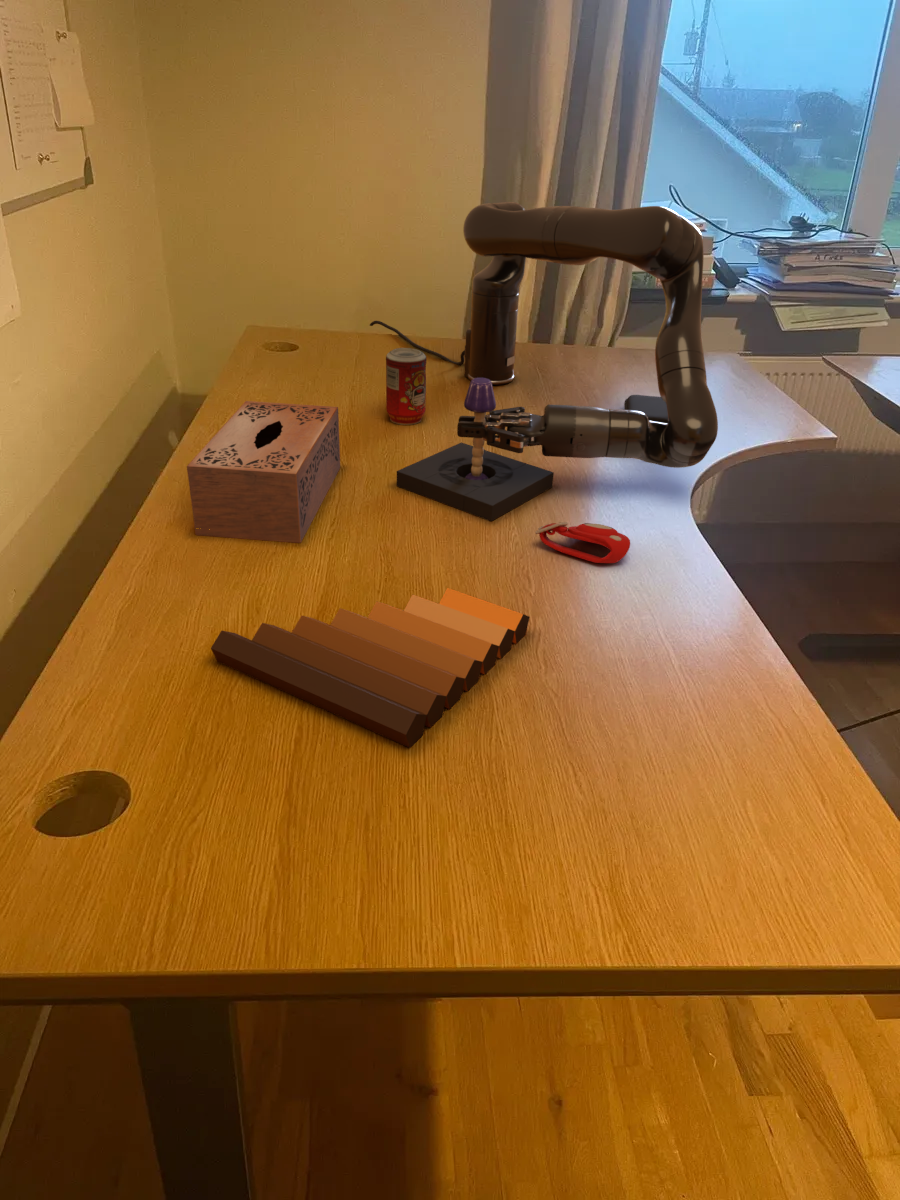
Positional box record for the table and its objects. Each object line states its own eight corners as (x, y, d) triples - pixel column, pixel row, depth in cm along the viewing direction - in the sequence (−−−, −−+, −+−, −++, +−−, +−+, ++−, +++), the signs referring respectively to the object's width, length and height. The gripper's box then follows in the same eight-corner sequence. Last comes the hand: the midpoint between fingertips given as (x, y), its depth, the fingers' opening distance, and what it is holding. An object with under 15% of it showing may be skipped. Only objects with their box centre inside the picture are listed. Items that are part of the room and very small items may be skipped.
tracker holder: (604, 520, 125) (649, 534, 117) (599, 551, 126) (643, 567, 118) (531, 514, 120) (573, 529, 111) (526, 546, 121) (567, 563, 112)
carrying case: (684, 439, 156) (679, 411, 169) (687, 422, 155) (682, 395, 167) (623, 433, 158) (623, 406, 170) (625, 417, 156) (625, 391, 169)
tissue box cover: (251, 461, 142) (245, 400, 137) (340, 467, 141) (338, 407, 136) (195, 535, 120) (186, 466, 115) (300, 543, 119) (296, 473, 114)
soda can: (410, 429, 156) (410, 359, 150) (378, 420, 160) (377, 352, 153) (433, 418, 161) (434, 350, 155) (402, 410, 165) (402, 343, 158)
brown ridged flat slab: (212, 664, 95) (405, 751, 84) (209, 638, 93) (405, 724, 82) (354, 570, 113) (528, 632, 102) (354, 546, 112) (530, 607, 101)
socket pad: (396, 486, 136) (396, 471, 134) (460, 456, 147) (461, 442, 145) (491, 521, 126) (492, 505, 125) (552, 487, 137) (554, 472, 136)
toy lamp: (498, 487, 136) (503, 381, 127) (474, 495, 134) (478, 387, 125) (478, 477, 139) (482, 372, 130) (454, 484, 137) (457, 378, 128)
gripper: (575, 391, 135) (461, 386, 136) (580, 423, 123) (455, 417, 124) (571, 438, 138) (460, 433, 139) (575, 474, 127) (454, 468, 128)
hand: (458, 426), depth 132 cm, fingers closed on toy lamp
